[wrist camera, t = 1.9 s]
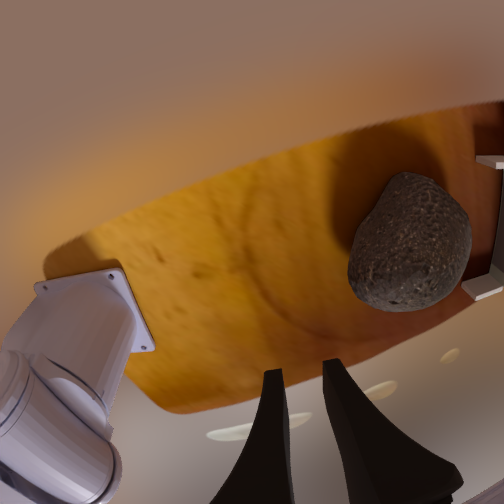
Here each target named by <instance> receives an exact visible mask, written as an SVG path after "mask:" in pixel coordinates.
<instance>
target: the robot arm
mask: <svg viewBox="0 0 504 504" xmlns="http://www.w3.org/2000/svg"><path fill="white" fill-rule="evenodd" d="M110 274H112V275H113V276H114V277H111V276H110ZM34 290H35V292H36V294H37V297H36V298H35V299H34V300H33V301H32V302H31V304H30V305H29V306H28V307H27V309H26V310H25V311H24V312H23V313H22V315H21V316H20V317H19V318H18V320H17V321H16V322H15V324H14V325H13V326H12V327H11V329H10V330H9V331H8V333H7V334H6V336H5V338H4V340H3V343H2V348H1V351H0V504H106V503H107V502H108V501H110V500H111V498H112V497H113V496H114V494H115V493H116V491H117V489H118V487H119V484H120V481H121V477H122V461H121V457H120V455H119V452H118V451H117V449H116V448H115V446H114V445H113V444H112V443H111V442H110V440H111V436H112V433H113V429H114V428H113V427H112V426H111V425H110V424H109V422H108V417H109V414H110V411H111V408H112V405H113V401H114V398H115V395H116V392H117V389H118V386H119V383H120V380H121V377H122V374H123V372H124V369H125V366H126V363H127V360H128V357H129V355H130V352H146V351H153V350H154V349H155V343H154V341H153V339H152V336H151V334H150V332H149V330H148V328H147V326H146V324H145V321H144V319H143V317H142V315H141V312H140V310H139V308H138V306H137V303H136V301H135V299H134V296H133V294H132V291H131V289H130V287H129V284H128V282H127V279H126V277H125V274H124V272H123V270H122V269H120V268H111V269H106V270H100V271H95V272H89V273H84V274H79V275H73V276H68V277H62V278H57V279H52V280H46V281H41V282H37V283H35V284H34ZM144 346H146V347H144ZM323 394H324V399H325V404H326V409H327V413H328V416H329V419H330V423H331V426H332V429H333V432H334V435H335V438H336V441H337V444H338V448H339V451H340V454H341V458H342V462H343V467H344V472H345V478H346V483H347V489H348V496H349V502H350V504H451V502H453V498H452V495H451V494H452V493H454V492H455V491H456V490H458V489H459V488H460V487H461V486H462V485H463V483H464V481H463V479H462V476H461V475H460V472H459V471H458V469H457V468H456V466H455V465H454V464H453V463H451V462H449V461H446V460H445V459H443V458H441V457H439V456H437V455H435V454H434V453H432V452H430V451H429V450H427V449H425V448H424V447H422V446H421V445H420V444H418V443H417V442H415V441H414V440H412V439H411V438H410V437H408V436H407V435H406V434H405V433H403V432H402V431H401V430H400V429H398V428H397V427H396V426H395V425H394V424H393V423H391V422H390V421H389V420H388V419H387V418H386V417H385V416H384V415H383V414H382V413H381V412H380V411H379V410H378V409H377V408H376V407H375V406H374V405H373V403H372V402H371V401H370V400H369V399H368V398H367V396H366V395H365V394H364V393H363V392H362V390H361V389H360V388H359V387H358V385H357V384H356V383H355V381H354V380H353V379H352V377H351V376H350V375H349V373H348V372H347V370H346V369H345V367H344V366H343V364H342V362H341V361H340V359H338V358H335V359H331V360H326V361H323ZM289 433H290V432H289V415H288V408H287V400H286V394H285V387H284V381H283V374H282V368H281V369H274V370H267V371H265V372H264V380H263V388H262V393H261V398H260V403H259V406H258V410H257V413H256V417H255V420H254V423H253V426H252V428H251V431H250V434H249V436H248V439H247V441H246V444H245V446H244V448H243V450H242V453H241V454H240V457H239V459H238V460H237V462H236V464H235V466H234V468H233V470H232V471H231V473H230V475H229V477H228V478H227V480H226V481H225V483H224V484H223V486H222V487H221V488H220V490H219V491H218V493H217V495H216V496H215V497H214V498H213V500H212V501H211V502H210V504H295V501H294V493H293V485H292V477H291V467H290V434H289ZM462 504H504V478H503V479H502V480H500V481H499V482H497V483H496V484H494V485H493V486H491V487H490V488H488V489H487V490H485V491H483V492H482V493H480V494H478V495H477V496H475V497H473V498H471V499H470V500H468V501H466V502H464V503H462Z"/></svg>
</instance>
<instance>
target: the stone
mask: <svg viewBox="0 0 504 504" xmlns="http://www.w3.org/2000/svg"><path fill="white" fill-rule="evenodd" d="M471 247H472V235H471V225H470V223H469V218H468V215H467V213H466V212H465V211H464V210H463V208H462V207H461V206H460V204H459V203H458V202H457V201H455V200H454V199H453V198H452V196H451V195H450V194H448V193H447V192H446V191H444V190H443V189H442V188H441V187H440V186H439V185H438V184H437V183H436V182H435V181H434V180H433V179H431V178H428V177H425V176H423V175H420V174H416V173H412V172H401V173H399V174H396V175H394V176H393V177H392V178H391V180H390V181H389V182H388V184H387V186H386V188H385V190H384V192H383V193H382V195H381V197H380V199H379V200H378V202H377V204H376V205H375V207H374V208H373V210H372V211H371V212H370V213H369V214H368V216H367V217H366V218H365V219H364V220H363V221H362V223H361V224H360V225H359V227H358V228H357V231H356V234H355V238H354V242H353V245H352V249H351V254H350V258H349V263H348V280H349V284H350V285H351V287H352V289H353V292H354V293H355V295H356V296H357V298H359V299H360V300H362V301H363V302H365V303H367V304H368V305H370V306H372V307H373V308H378V309H380V310H384V311H388V312H402V311H414V310H419V309H424V308H426V307H429V306H431V305H433V304H435V303H437V302H438V301H440V300H441V299H443V298H445V297H446V296H447V295H448V294H450V293H451V292H452V290H453V289H454V288H455V286H456V285H457V283H458V281H459V280H460V278H461V276H462V274H463V272H464V270H465V268H466V265H467V262H468V260H469V255H470V251H471Z"/></svg>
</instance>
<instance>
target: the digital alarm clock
mask: <svg viewBox="0 0 504 504" xmlns="http://www.w3.org/2000/svg"><path fill="white" fill-rule="evenodd" d="M476 162H478V163H481V164H484V165H487V166H489V167H492V168H495V169H503V185H502V197H501V206H500V215H499V222H498V229H497V235H496V241H495V246H494V252H493V256H492V261H491V266H490V270H489V274H486V275H482V276H479V277H476V278H473V279H470V280H467V281H464V282H462V284H461V287H462V288H463V289H464V290H465V291H466V292H467V293H468V294H469V295H470V296H471V297H472V298H473V299H474V300H475V301H477V300H479V299H482V298H485V297H487V296H490V295H492V294H495V293H497V292H500V291H502V288H503V287H504V156H476Z"/></svg>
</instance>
